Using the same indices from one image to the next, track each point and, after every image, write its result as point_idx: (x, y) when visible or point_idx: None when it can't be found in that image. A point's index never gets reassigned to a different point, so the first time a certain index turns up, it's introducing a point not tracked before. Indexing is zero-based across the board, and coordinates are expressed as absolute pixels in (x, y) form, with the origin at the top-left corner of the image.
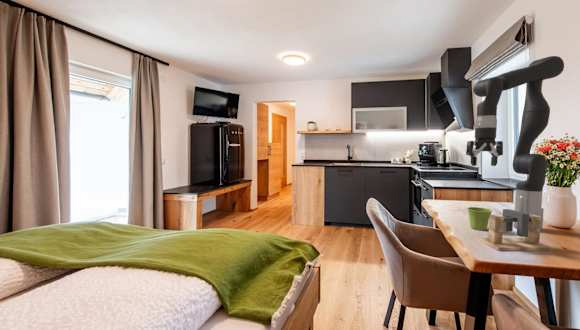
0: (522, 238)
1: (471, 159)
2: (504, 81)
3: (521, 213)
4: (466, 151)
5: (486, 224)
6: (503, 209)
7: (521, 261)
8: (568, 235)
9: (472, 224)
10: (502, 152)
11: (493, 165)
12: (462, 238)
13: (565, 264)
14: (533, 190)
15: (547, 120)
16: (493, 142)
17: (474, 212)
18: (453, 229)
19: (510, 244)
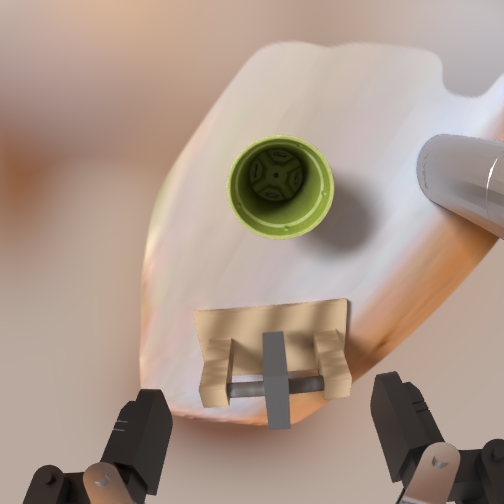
0: (327, 309)
1: (113, 447)
2: None
3: (275, 422)
4: (27, 496)
5: (292, 205)
6: (263, 378)
7: (220, 411)
8: (487, 240)
9: (247, 186)
10: (483, 499)
11: (372, 399)
12: (161, 295)
13: (292, 417)
14: None
15: None
16: None
17: (241, 215)
18: (172, 198)
19: (253, 357)
